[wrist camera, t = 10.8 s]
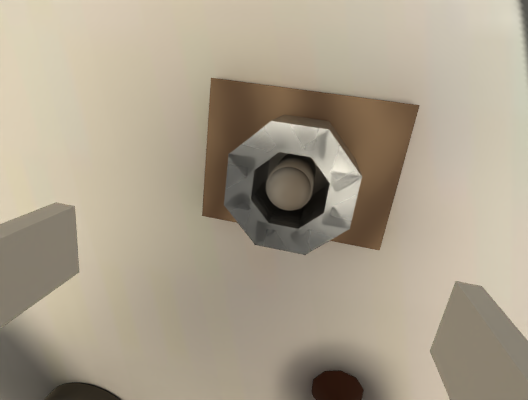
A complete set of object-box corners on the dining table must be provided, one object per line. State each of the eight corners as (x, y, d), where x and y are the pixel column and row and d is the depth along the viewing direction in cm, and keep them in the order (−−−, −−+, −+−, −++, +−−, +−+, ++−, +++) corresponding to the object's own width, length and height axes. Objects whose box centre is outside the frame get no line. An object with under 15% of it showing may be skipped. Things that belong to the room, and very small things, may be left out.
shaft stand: (207, 210, 31) (160, 255, 22) (217, 78, 27) (163, 71, 18) (377, 242, 29) (398, 307, 20) (414, 104, 25) (460, 110, 16)
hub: (242, 208, 27) (220, 237, 22) (253, 109, 24) (231, 114, 19) (339, 226, 26) (342, 263, 20) (361, 125, 23) (372, 135, 18)
